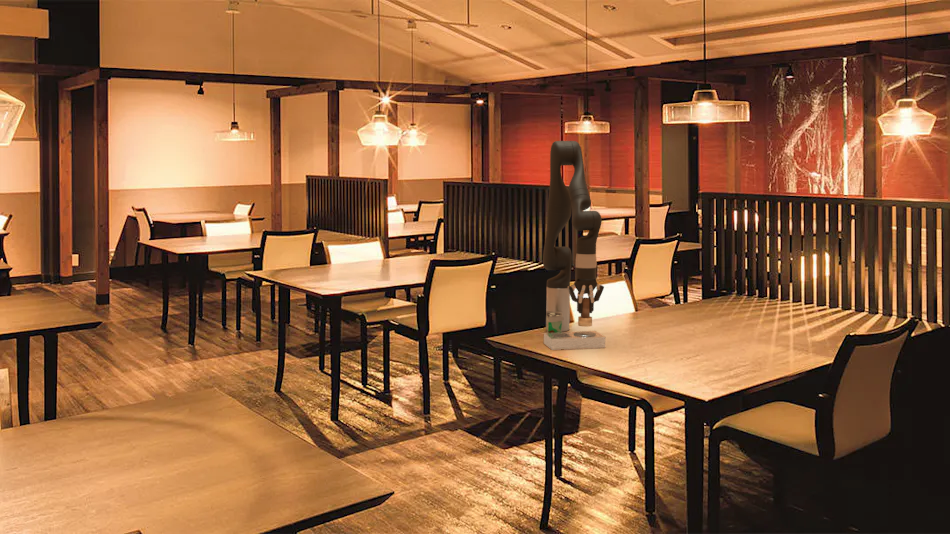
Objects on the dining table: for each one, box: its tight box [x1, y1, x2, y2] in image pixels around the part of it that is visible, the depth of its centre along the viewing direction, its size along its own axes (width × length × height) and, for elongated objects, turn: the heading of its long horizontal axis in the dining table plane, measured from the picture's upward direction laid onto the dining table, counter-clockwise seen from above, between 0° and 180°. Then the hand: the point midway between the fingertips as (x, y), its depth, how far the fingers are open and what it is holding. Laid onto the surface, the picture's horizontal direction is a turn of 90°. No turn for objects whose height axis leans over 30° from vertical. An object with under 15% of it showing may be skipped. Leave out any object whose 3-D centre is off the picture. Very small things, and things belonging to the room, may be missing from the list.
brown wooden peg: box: [577, 297, 593, 328], centre depth 315 cm, size 5×5×10 cm
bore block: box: [543, 330, 606, 351], centre depth 315 cm, size 11×20×4 cm, turn 100°
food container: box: [545, 311, 564, 333], centre depth 325 cm, size 12×6×10 cm, turn 179°
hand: (585, 312), depth 315 cm, fingers closed on brown wooden peg, 3 cm apart
